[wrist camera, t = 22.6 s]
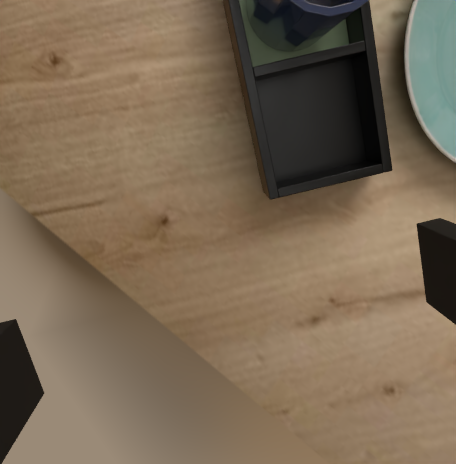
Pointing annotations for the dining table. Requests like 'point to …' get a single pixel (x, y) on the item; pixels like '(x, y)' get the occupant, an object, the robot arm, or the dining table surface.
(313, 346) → the dining table surface
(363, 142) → the tray
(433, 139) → the plate
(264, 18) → the cup
